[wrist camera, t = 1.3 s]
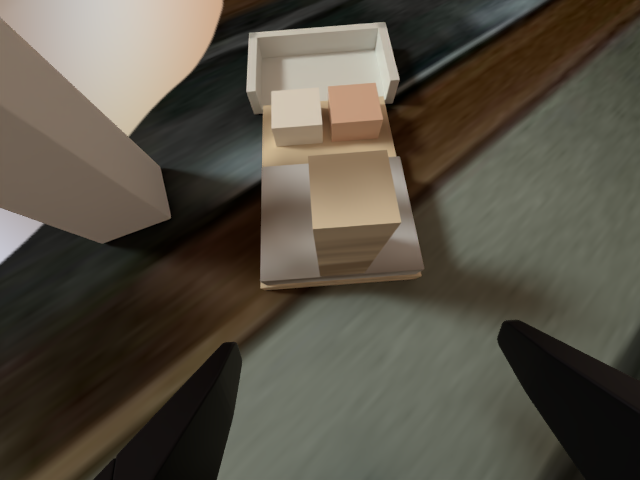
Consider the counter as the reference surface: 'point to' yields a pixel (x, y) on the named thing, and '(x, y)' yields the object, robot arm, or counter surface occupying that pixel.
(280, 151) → the board
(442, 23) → the counter surface
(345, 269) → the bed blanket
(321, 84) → the tray
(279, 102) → the tile
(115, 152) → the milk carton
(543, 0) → the counter surface
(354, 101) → the tile
